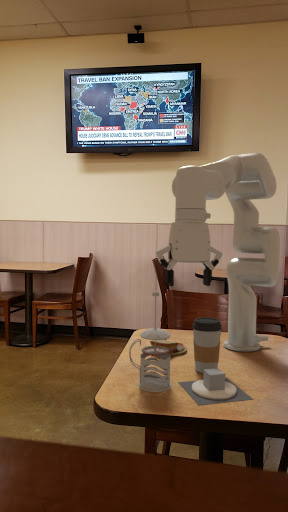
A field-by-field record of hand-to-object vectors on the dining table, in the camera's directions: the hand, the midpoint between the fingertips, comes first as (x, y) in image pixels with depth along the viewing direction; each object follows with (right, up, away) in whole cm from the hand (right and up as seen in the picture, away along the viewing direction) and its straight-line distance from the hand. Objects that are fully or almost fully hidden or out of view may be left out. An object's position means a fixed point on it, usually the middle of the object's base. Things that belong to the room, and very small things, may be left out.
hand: (188, 285), depth 96 cm
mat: (+6, -27, 0) cm, 28 cm away
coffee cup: (+7, -26, +15) cm, 31 cm away
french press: (-9, -27, +4) cm, 28 cm away
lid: (+6, -26, 0) cm, 27 cm away
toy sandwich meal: (-3, -25, +34) cm, 42 cm away
